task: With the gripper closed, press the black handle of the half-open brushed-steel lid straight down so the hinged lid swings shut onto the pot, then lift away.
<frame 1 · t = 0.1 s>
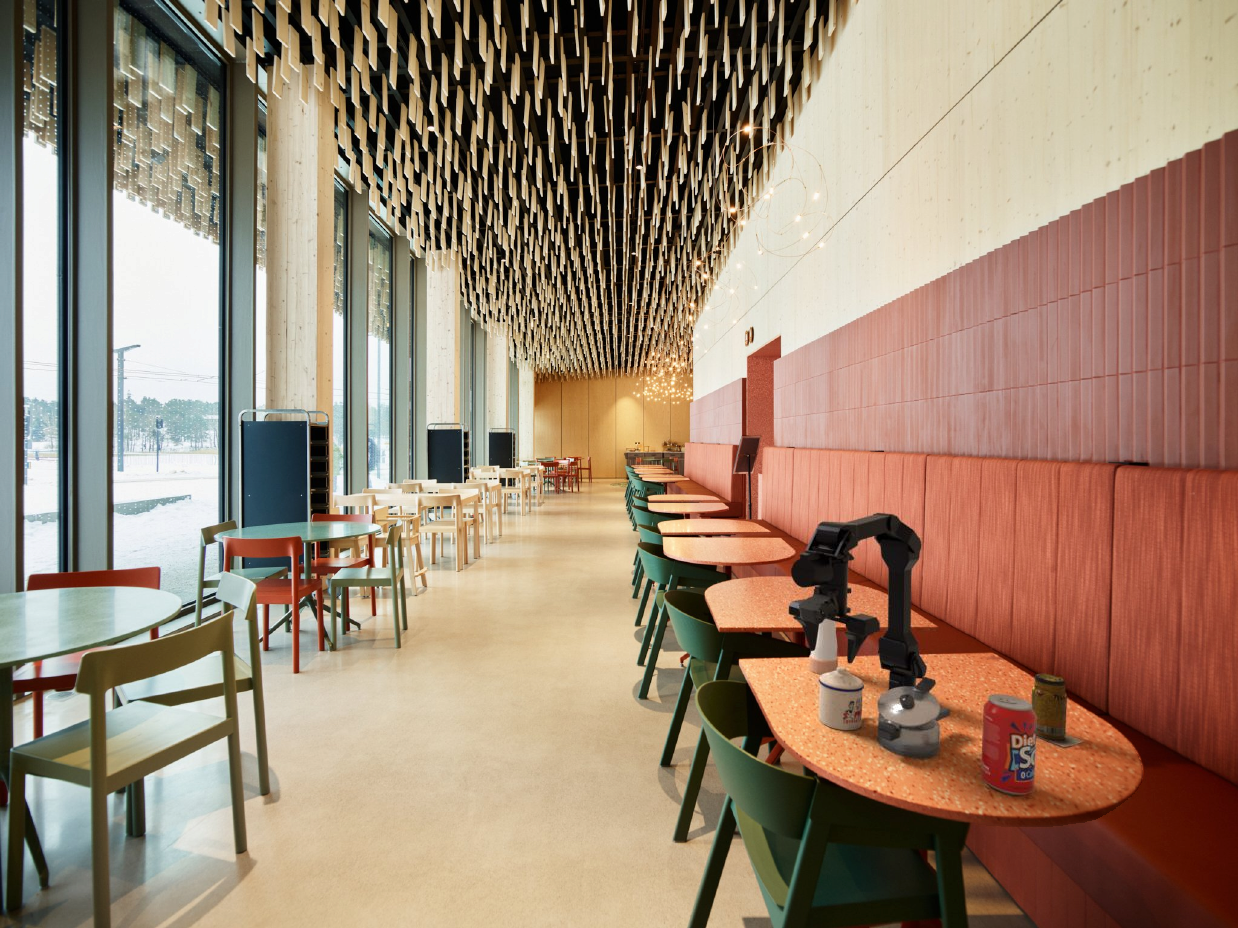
hand: (830, 656, 130), 15 cm above the table, fingers open, 9 cm apart
teacup with lid: (842, 721, 134), on the table
condiment: (1051, 737, 129), on the table
lid: (910, 700, 123), point 9 cm above the table, hinge at 22.0°
soda can: (1006, 787, 108), on the table
pot: (907, 744, 123), on the table
pepper shaker: (823, 671, 165), on the table
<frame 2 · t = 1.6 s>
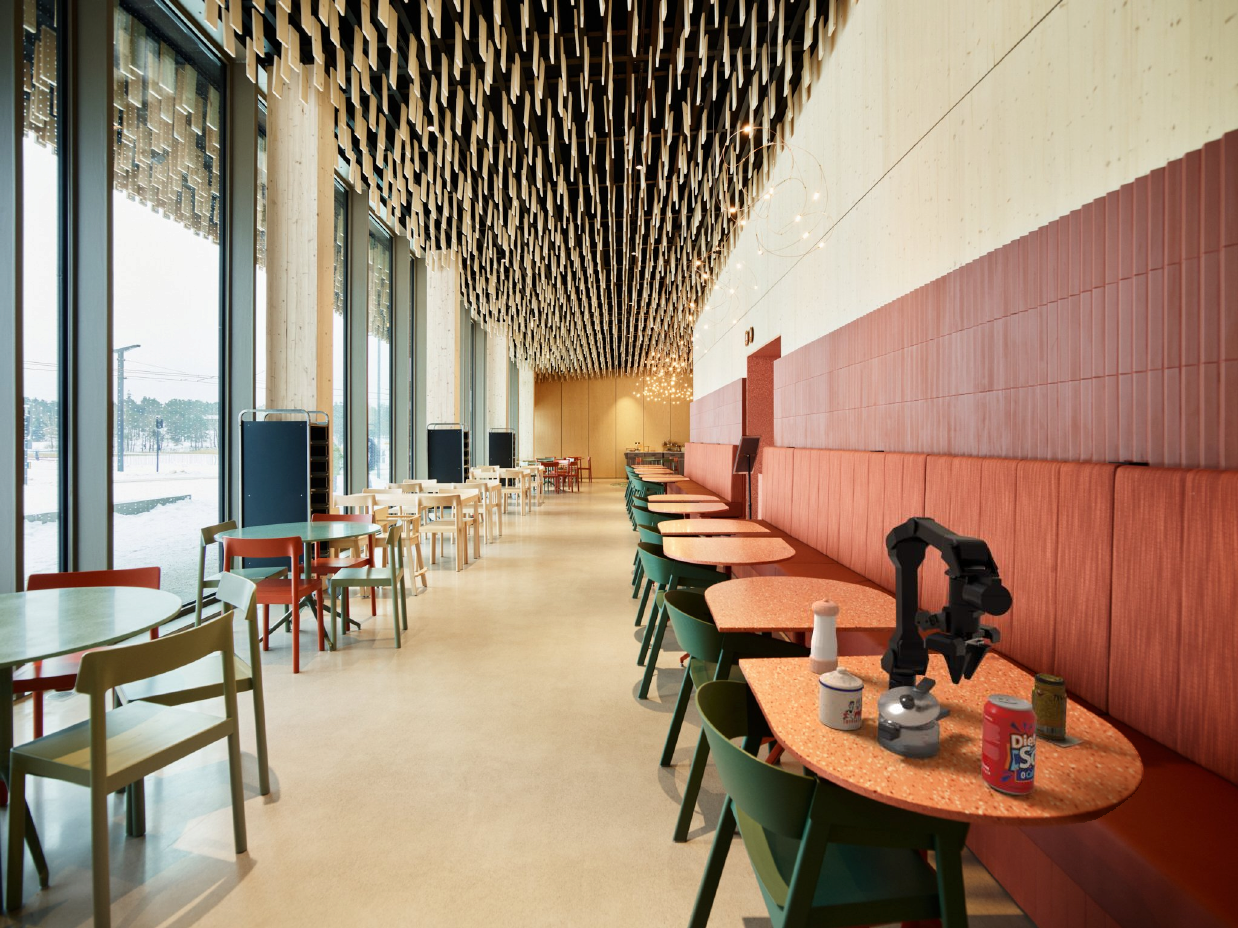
hand: (961, 681, 122), 13 cm above the table, fingers open, 4 cm apart
nothing on the table moved.
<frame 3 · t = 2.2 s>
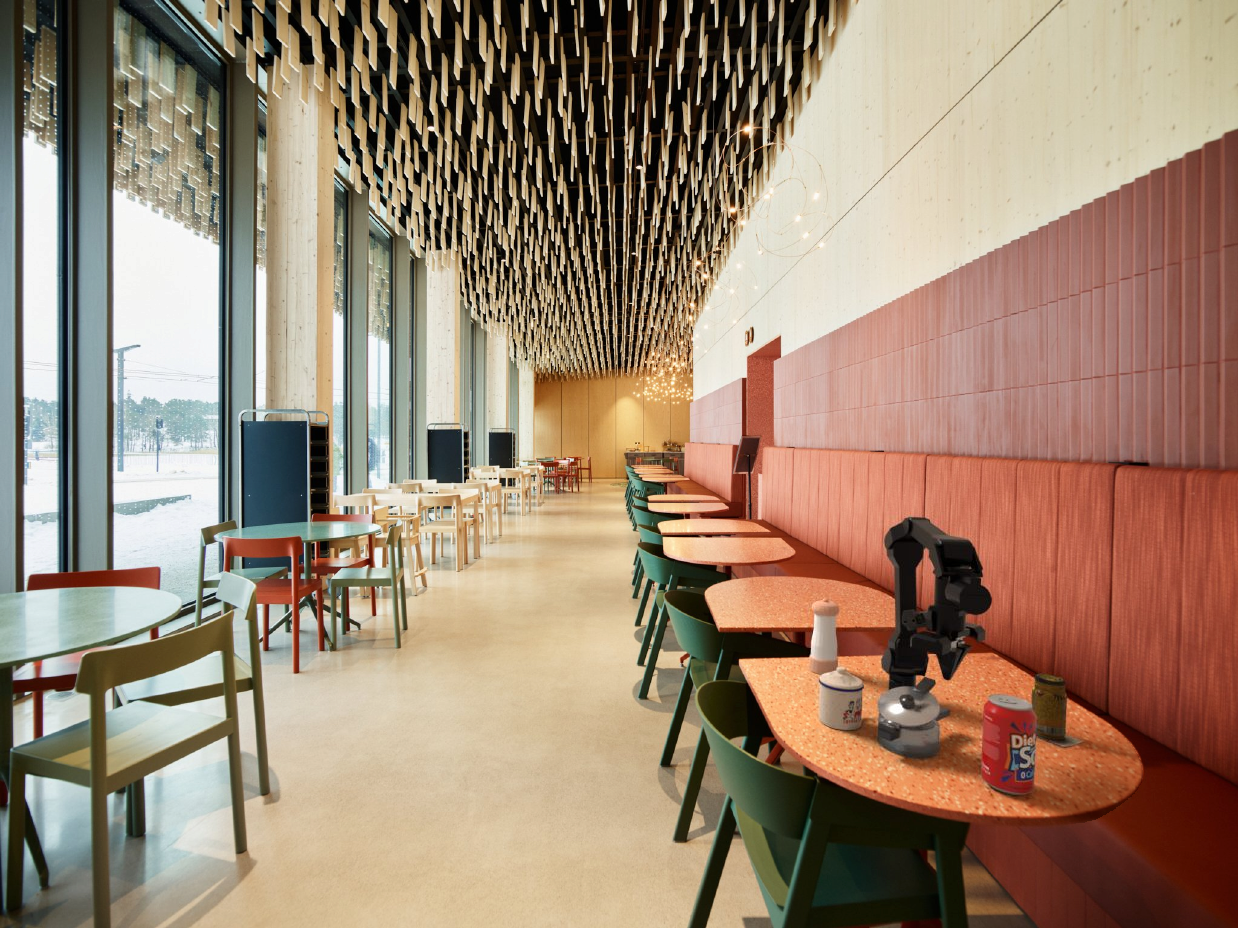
hand: (947, 679, 124), 13 cm above the table, fingers closed
nothing on the table moved.
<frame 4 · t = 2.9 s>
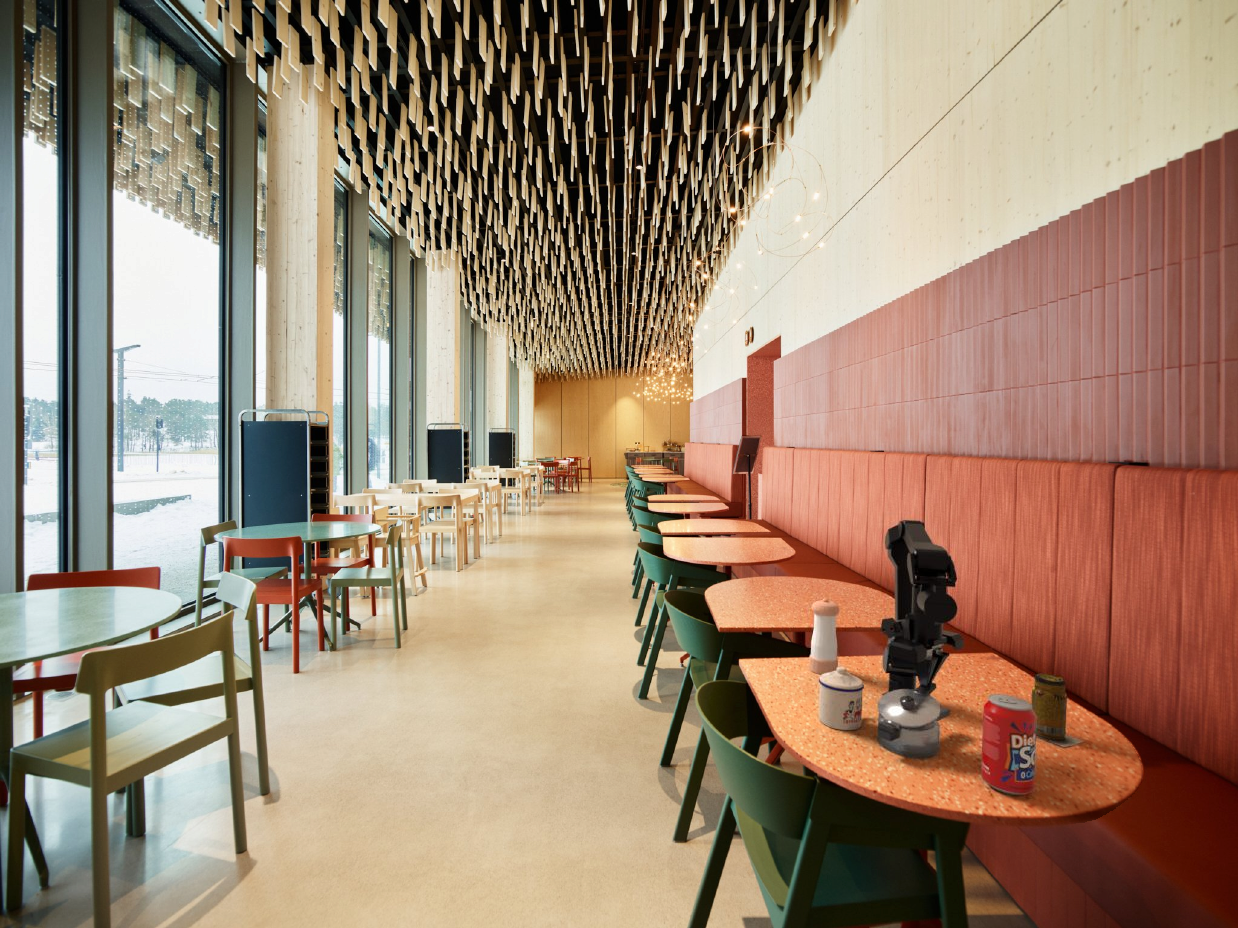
hand: (924, 686, 126), 10 cm above the table, fingers closed
lid: (910, 701, 123), point 8 cm above the table, hinge at 18.6°, touching gripper
everything else where it was.
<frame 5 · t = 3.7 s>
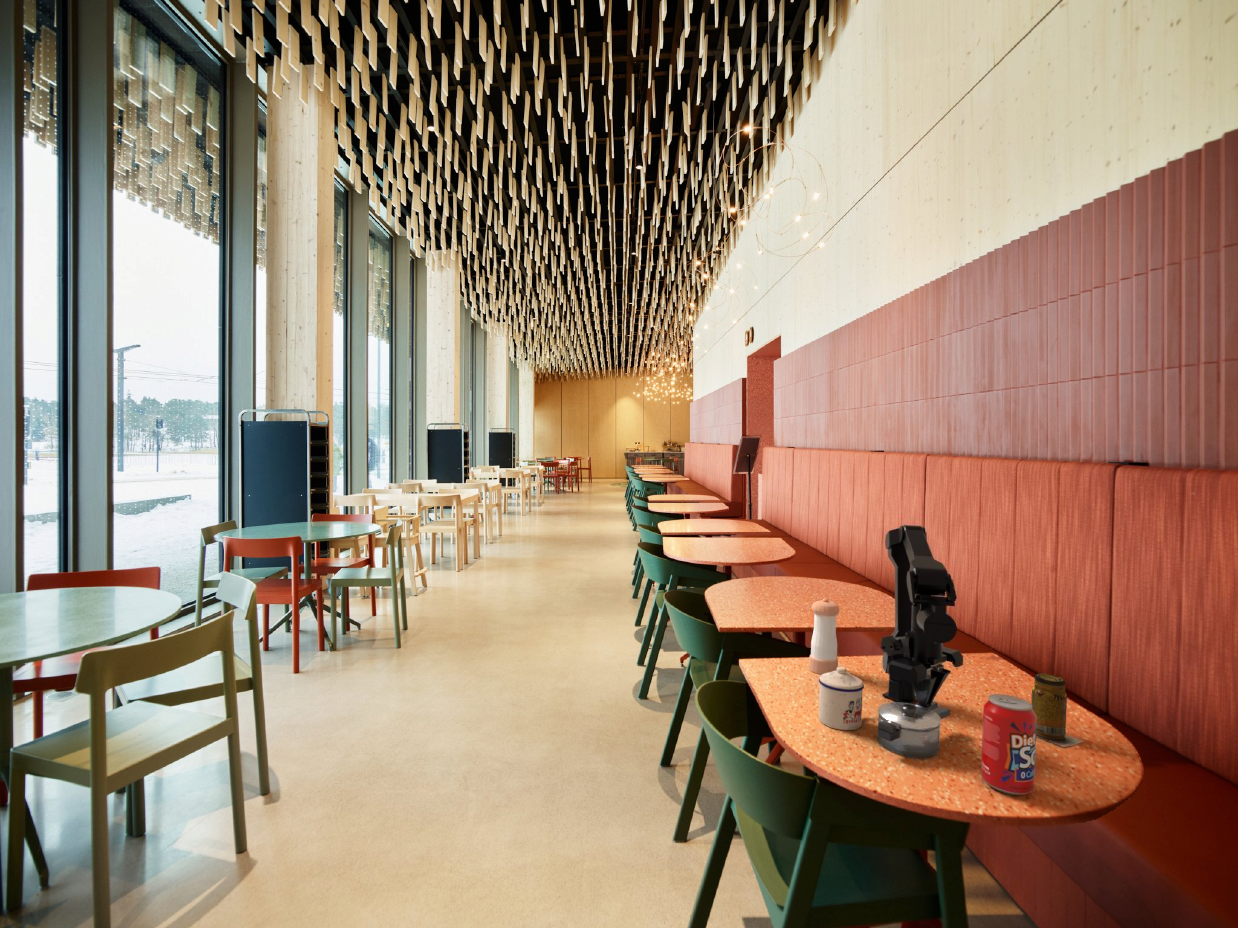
hand: (925, 704, 126), 7 cm above the table, fingers closed on lid, 2 cm apart
lid: (912, 711, 123), point 6 cm above the table, hinge at 2.1°, touching gripper
everything else where it was.
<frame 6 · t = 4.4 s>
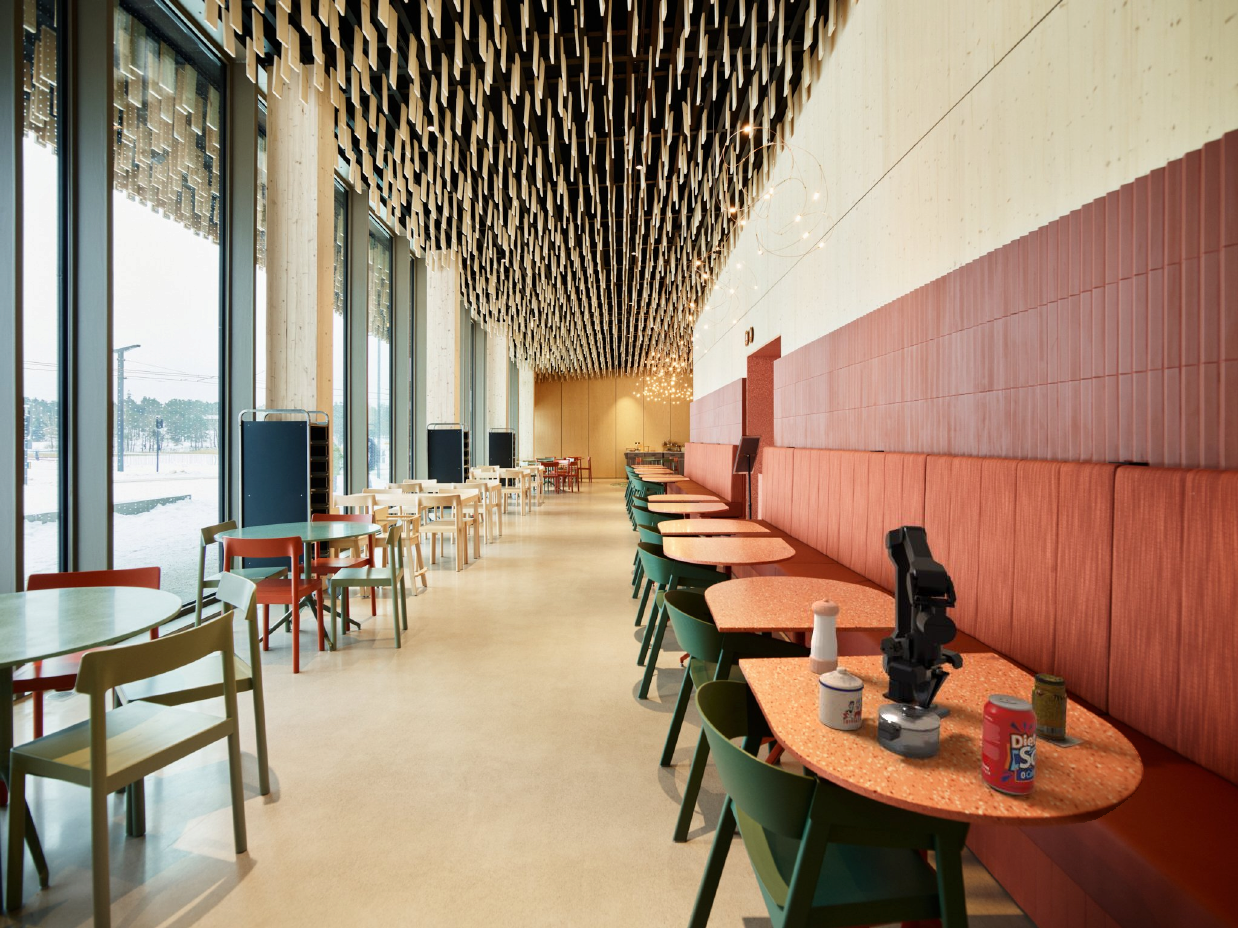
hand: (924, 706, 126), 6 cm above the table, fingers closed on lid
lid: (912, 711, 124), point 6 cm above the table, hinge at 0.7°, touching gripper
everything else where it was.
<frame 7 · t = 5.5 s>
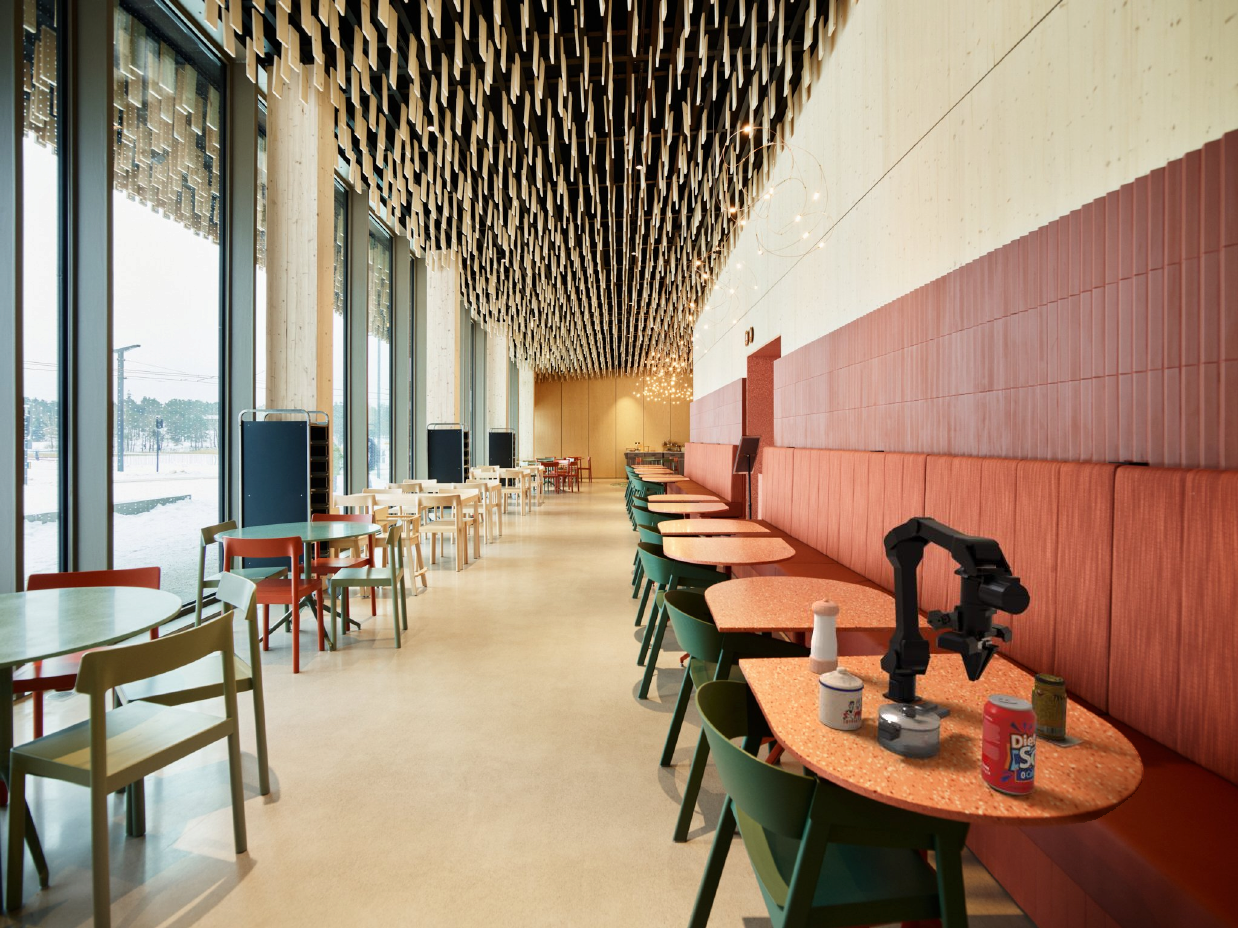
hand: (973, 680, 123), 13 cm above the table, fingers closed
lid: (912, 711, 124), point 6 cm above the table, hinge at 0.7°
everything else where it was.
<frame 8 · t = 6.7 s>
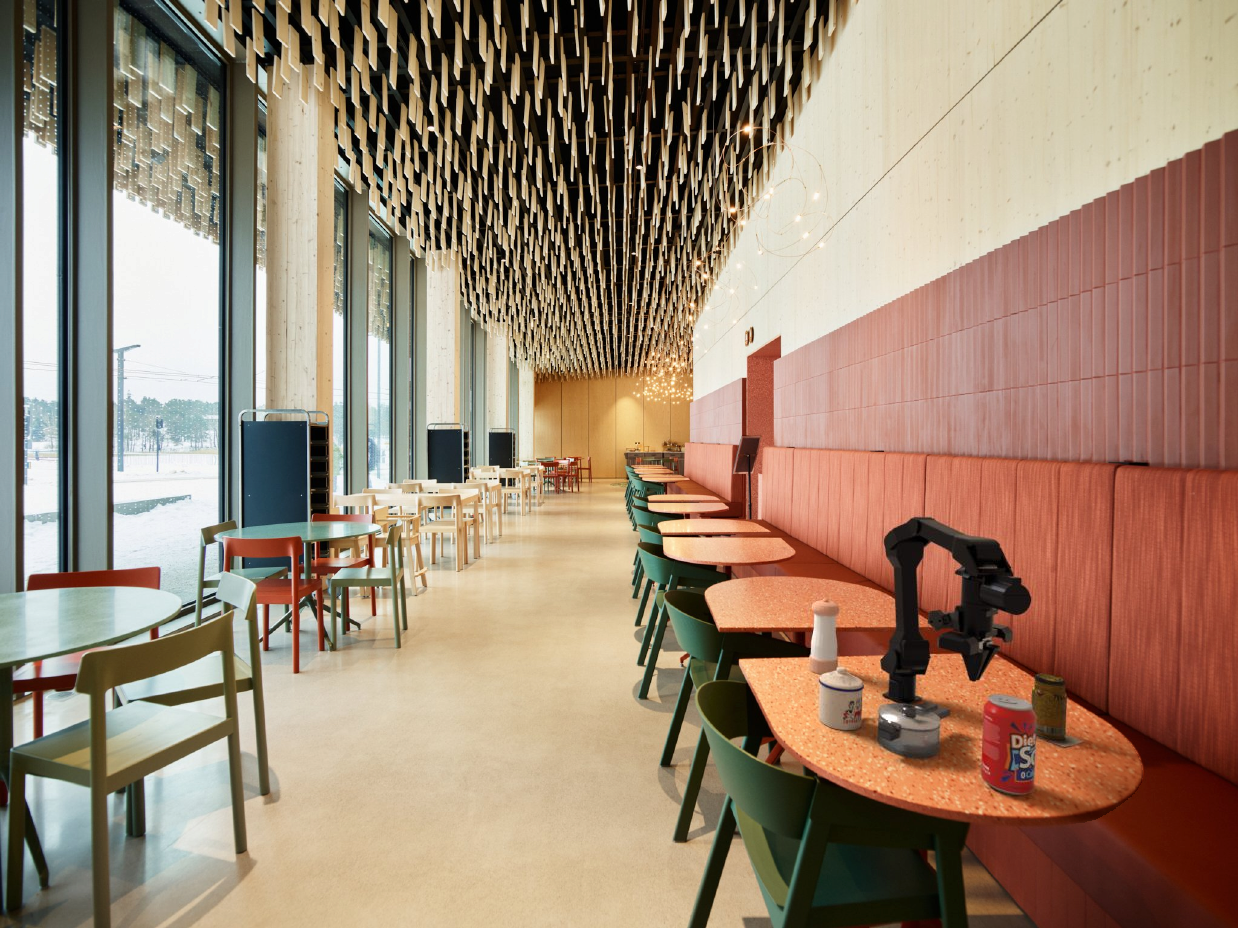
hand: (974, 680, 123), 13 cm above the table, fingers closed
nothing on the table moved.
at the end: lid at +1° (first picture: +22°) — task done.
